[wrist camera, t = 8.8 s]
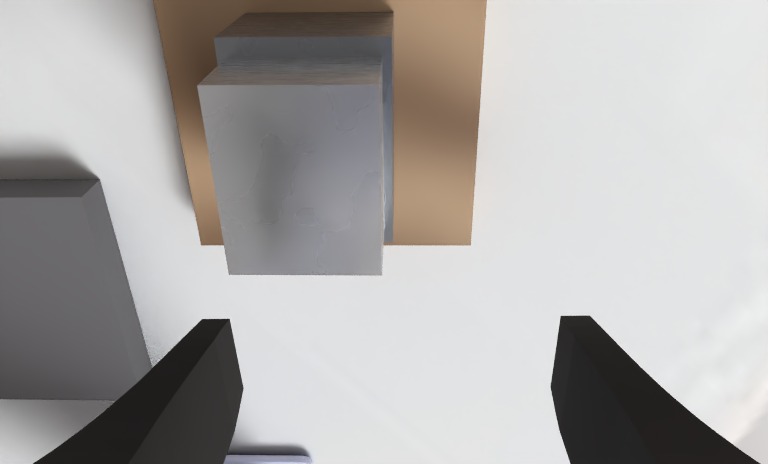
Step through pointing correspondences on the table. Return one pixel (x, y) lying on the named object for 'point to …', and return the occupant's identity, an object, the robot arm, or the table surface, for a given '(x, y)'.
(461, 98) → the stand
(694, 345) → the table surface
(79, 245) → the stand
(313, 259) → the housing
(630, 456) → the robot arm
